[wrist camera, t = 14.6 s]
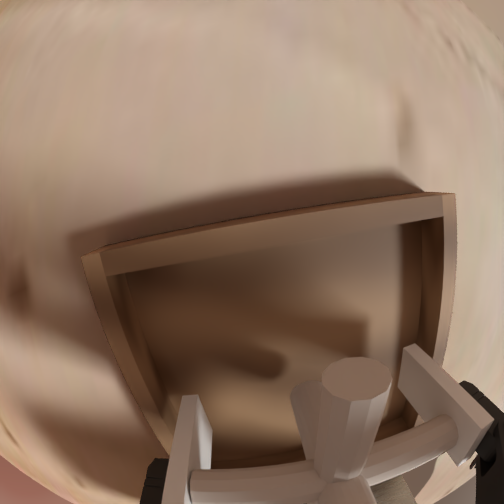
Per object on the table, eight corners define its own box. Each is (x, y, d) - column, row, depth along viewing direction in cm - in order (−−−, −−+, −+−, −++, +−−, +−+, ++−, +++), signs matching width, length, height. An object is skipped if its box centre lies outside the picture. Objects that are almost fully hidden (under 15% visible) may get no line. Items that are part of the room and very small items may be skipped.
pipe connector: (184, 315, 10) (101, 580, 1) (410, 285, 11) (582, 403, 1) (221, 458, 13) (222, 600, 3) (380, 429, 13) (442, 543, 3)
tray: (105, 245, 12) (80, 256, 10) (425, 191, 12) (455, 193, 10) (194, 462, 16) (192, 487, 13) (406, 415, 16) (420, 434, 14)
